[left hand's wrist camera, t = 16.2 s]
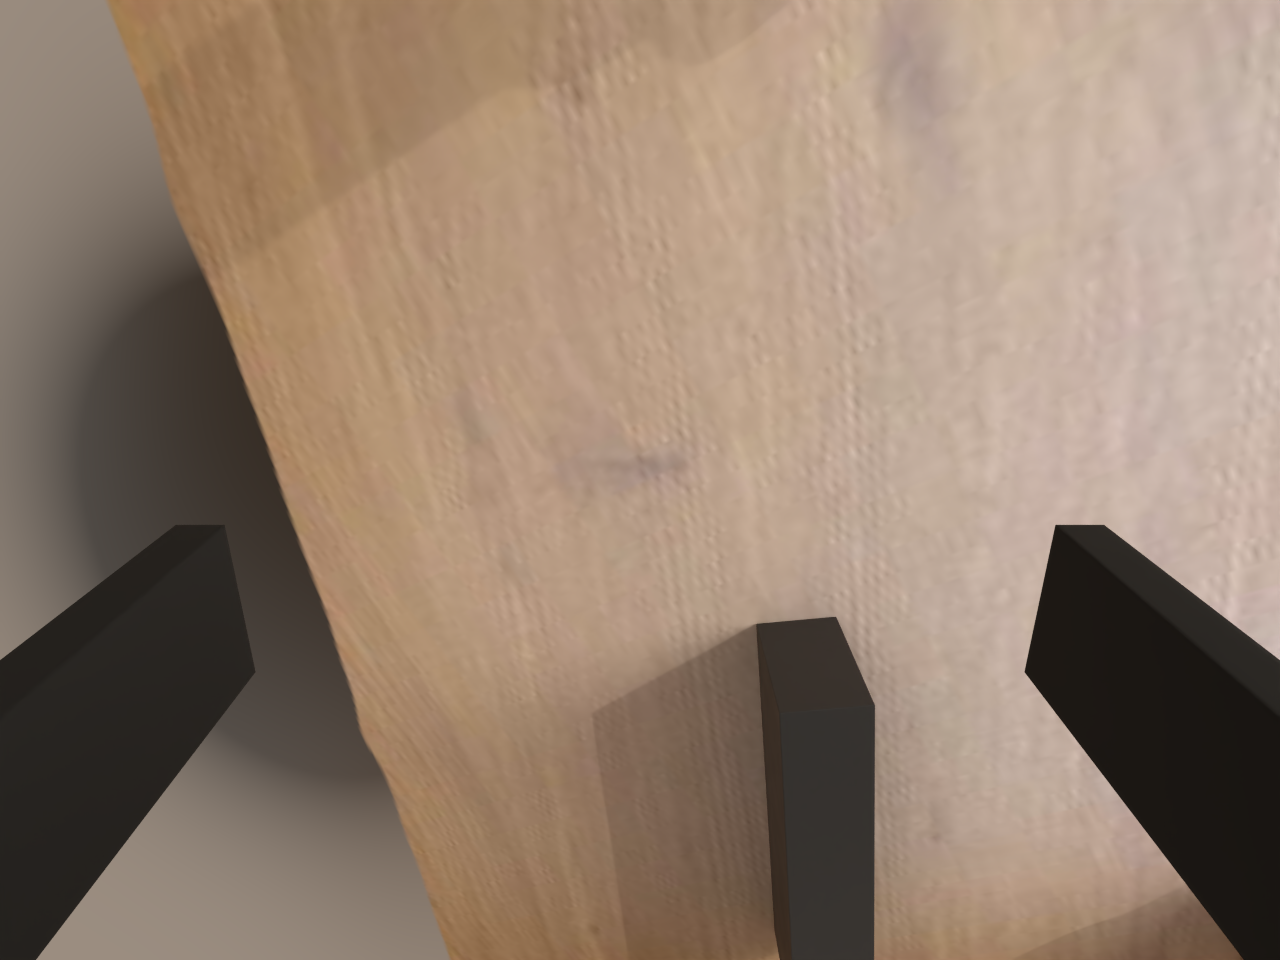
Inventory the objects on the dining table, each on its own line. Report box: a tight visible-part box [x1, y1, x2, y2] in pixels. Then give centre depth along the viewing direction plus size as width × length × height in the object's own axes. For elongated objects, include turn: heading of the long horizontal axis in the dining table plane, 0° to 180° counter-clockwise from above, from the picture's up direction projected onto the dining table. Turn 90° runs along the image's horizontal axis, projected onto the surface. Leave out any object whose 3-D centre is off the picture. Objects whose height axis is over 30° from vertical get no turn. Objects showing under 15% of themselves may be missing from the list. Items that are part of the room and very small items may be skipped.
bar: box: [757, 617, 875, 960], centre depth 49 cm, size 26×5×8 cm, turn 6°
